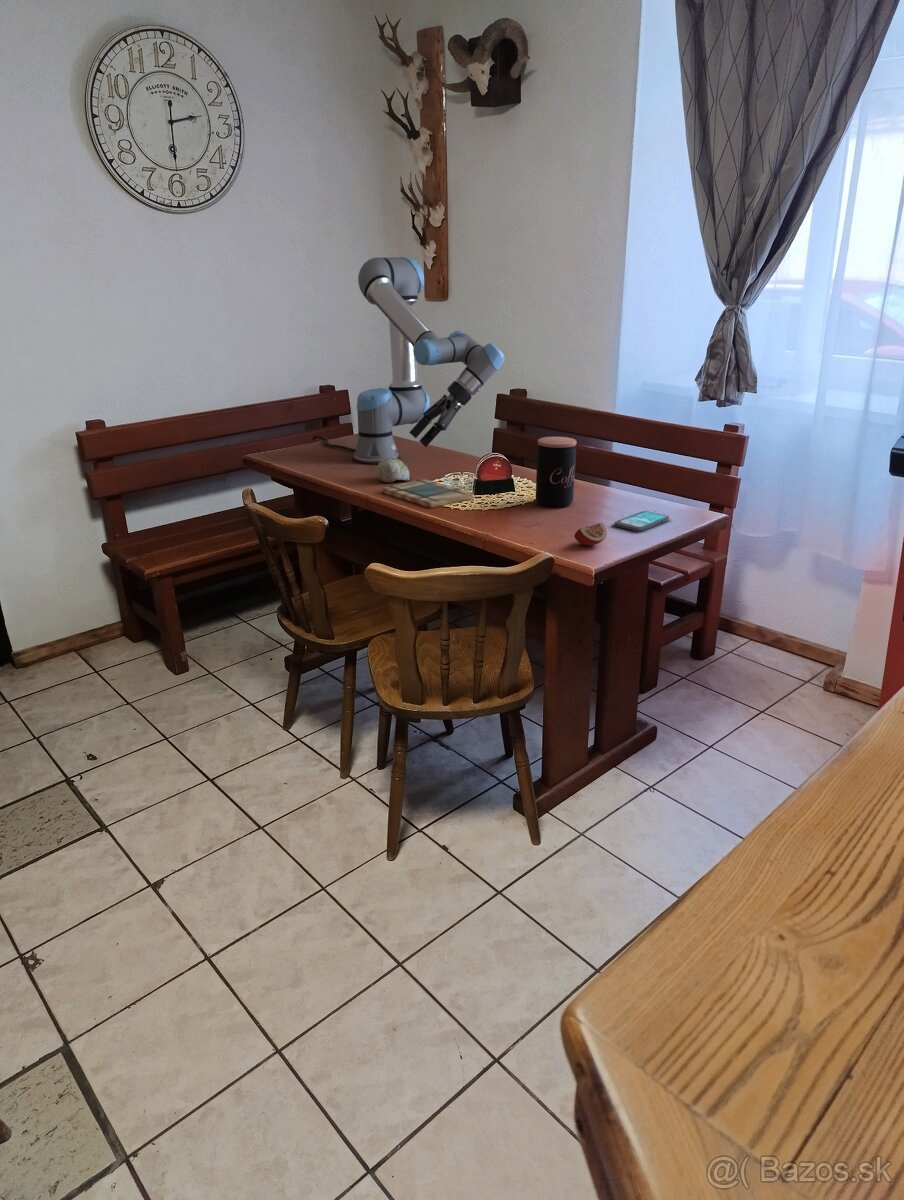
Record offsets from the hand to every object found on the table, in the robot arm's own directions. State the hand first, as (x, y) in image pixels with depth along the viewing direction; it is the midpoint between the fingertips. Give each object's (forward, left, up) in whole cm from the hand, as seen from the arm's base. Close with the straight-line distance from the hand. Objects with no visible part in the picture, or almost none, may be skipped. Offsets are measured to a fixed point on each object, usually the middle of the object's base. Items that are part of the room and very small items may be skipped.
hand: (417, 439), depth 252 cm
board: (+16, -10, -12) cm, 23 cm away
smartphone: (+75, +14, -12) cm, 78 cm away
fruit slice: (+77, -10, -13) cm, 79 cm away
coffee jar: (+47, +11, -13) cm, 50 cm away
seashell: (-4, -7, -13) cm, 15 cm away
